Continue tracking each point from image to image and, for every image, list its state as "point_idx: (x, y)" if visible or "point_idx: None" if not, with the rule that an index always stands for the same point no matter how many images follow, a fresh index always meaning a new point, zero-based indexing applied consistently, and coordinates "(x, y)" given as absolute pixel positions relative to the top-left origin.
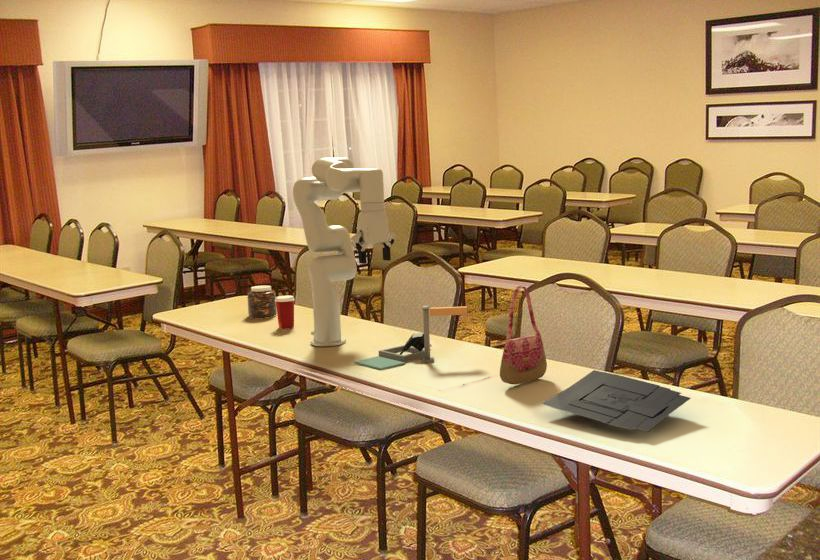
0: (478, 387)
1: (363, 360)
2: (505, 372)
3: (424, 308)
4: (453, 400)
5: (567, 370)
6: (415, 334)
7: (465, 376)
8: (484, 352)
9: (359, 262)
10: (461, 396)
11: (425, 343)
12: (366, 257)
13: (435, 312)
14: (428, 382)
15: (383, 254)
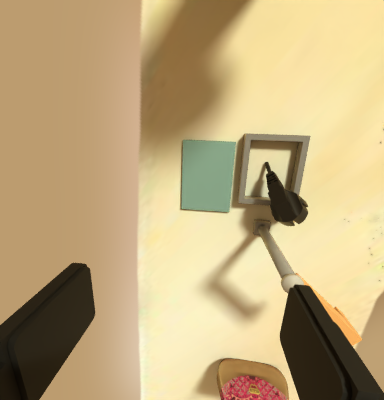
0: (198, 344)
1: (198, 146)
2: (217, 380)
3: (282, 286)
4: (147, 349)
5: None
6: (286, 206)
7: (227, 310)
8: (364, 254)
9: (73, 267)
10: (162, 348)
11: (263, 241)
12: (71, 351)
13: None
14: (178, 294)
15: (305, 328)
